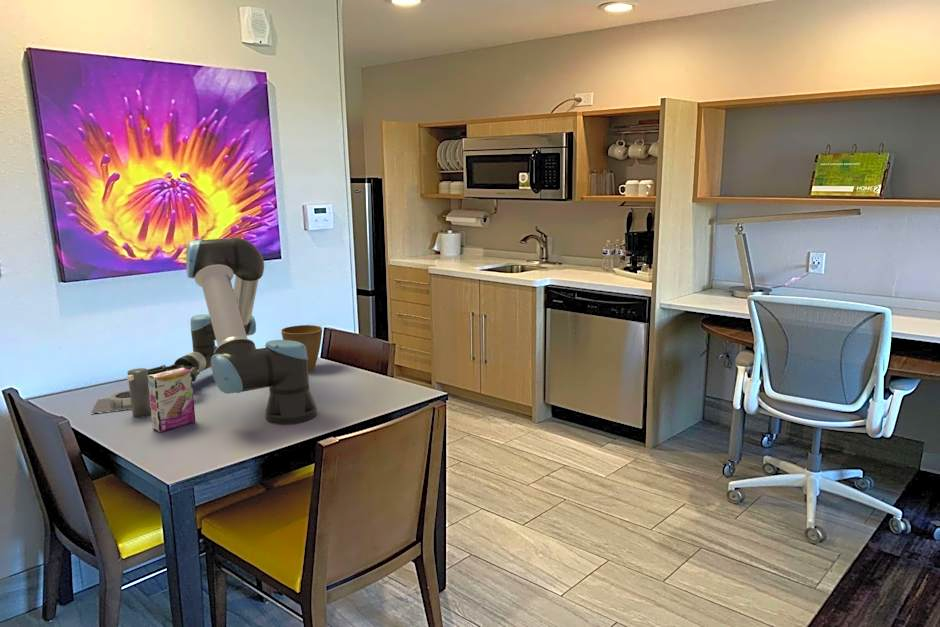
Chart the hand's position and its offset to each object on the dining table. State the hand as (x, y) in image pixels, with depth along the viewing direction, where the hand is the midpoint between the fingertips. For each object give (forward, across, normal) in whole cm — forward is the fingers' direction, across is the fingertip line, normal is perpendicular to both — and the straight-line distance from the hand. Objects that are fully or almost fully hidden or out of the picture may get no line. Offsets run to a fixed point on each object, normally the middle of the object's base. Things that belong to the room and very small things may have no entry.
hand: (151, 383), depth 216 cm
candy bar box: (+14, -17, -8) cm, 23 cm away
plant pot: (-46, -31, -8) cm, 56 cm away
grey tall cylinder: (+6, 0, -8) cm, 10 cm away
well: (-2, +10, -8) cm, 13 cm away
